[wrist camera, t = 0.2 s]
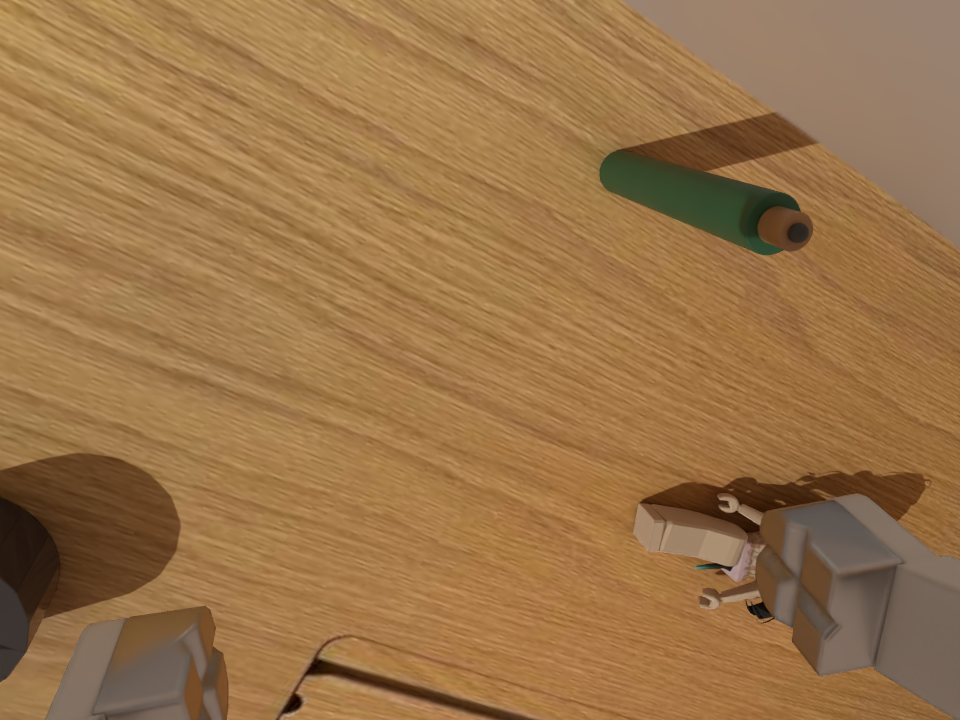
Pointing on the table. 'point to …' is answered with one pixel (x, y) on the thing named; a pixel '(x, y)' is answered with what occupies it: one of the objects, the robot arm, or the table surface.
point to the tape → (23, 581)
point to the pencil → (710, 202)
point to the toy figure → (707, 546)
